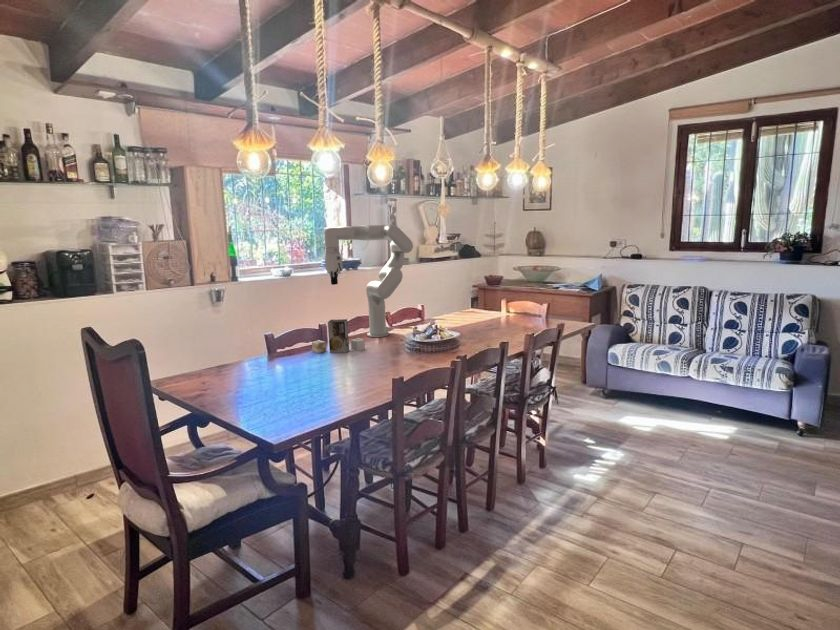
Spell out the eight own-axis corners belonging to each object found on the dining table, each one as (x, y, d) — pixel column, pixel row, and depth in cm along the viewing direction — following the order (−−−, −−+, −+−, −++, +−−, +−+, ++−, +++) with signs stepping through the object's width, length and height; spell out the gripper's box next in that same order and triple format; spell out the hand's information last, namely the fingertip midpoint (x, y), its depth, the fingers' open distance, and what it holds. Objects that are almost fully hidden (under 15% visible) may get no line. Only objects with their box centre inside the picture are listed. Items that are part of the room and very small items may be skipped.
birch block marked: (320, 349, 280) (319, 340, 279) (326, 351, 276) (325, 341, 275) (312, 351, 276) (311, 341, 276) (317, 353, 273) (317, 343, 272)
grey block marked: (358, 347, 282) (358, 337, 282) (364, 348, 279) (364, 339, 278) (351, 349, 279) (350, 339, 278) (357, 350, 276) (356, 340, 275)
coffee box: (349, 349, 278) (348, 319, 275) (346, 352, 272) (345, 321, 269) (332, 349, 279) (330, 319, 276) (329, 352, 273) (327, 321, 270)
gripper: (346, 250, 285) (348, 284, 288) (330, 249, 295) (332, 282, 299) (335, 251, 280) (337, 286, 283) (318, 250, 290) (320, 284, 293)
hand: (334, 284), depth 291 cm, fingers closed
